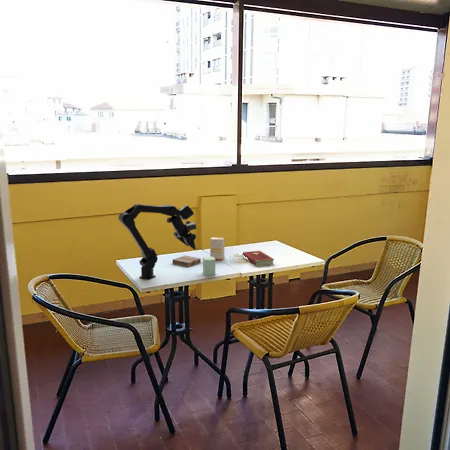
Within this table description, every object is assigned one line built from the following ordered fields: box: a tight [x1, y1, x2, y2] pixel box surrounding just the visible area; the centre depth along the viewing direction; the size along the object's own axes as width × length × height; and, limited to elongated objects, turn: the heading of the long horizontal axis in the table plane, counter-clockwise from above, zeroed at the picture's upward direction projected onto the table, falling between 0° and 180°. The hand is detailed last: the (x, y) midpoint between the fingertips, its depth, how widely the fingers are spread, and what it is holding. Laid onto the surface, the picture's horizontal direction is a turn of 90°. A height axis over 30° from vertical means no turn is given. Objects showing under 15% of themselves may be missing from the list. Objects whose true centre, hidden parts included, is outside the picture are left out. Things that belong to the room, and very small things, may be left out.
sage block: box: [202, 256, 216, 277], centre depth 255 cm, size 6×6×9 cm
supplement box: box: [209, 236, 226, 261], centre depth 285 cm, size 8×5×13 cm, turn 74°
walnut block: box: [172, 255, 202, 268], centre depth 276 cm, size 12×12×3 cm
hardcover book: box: [242, 250, 275, 267], centre depth 282 cm, size 12×21×4 cm, turn 19°
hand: (191, 247), depth 259 cm, fingers open, 9 cm apart
